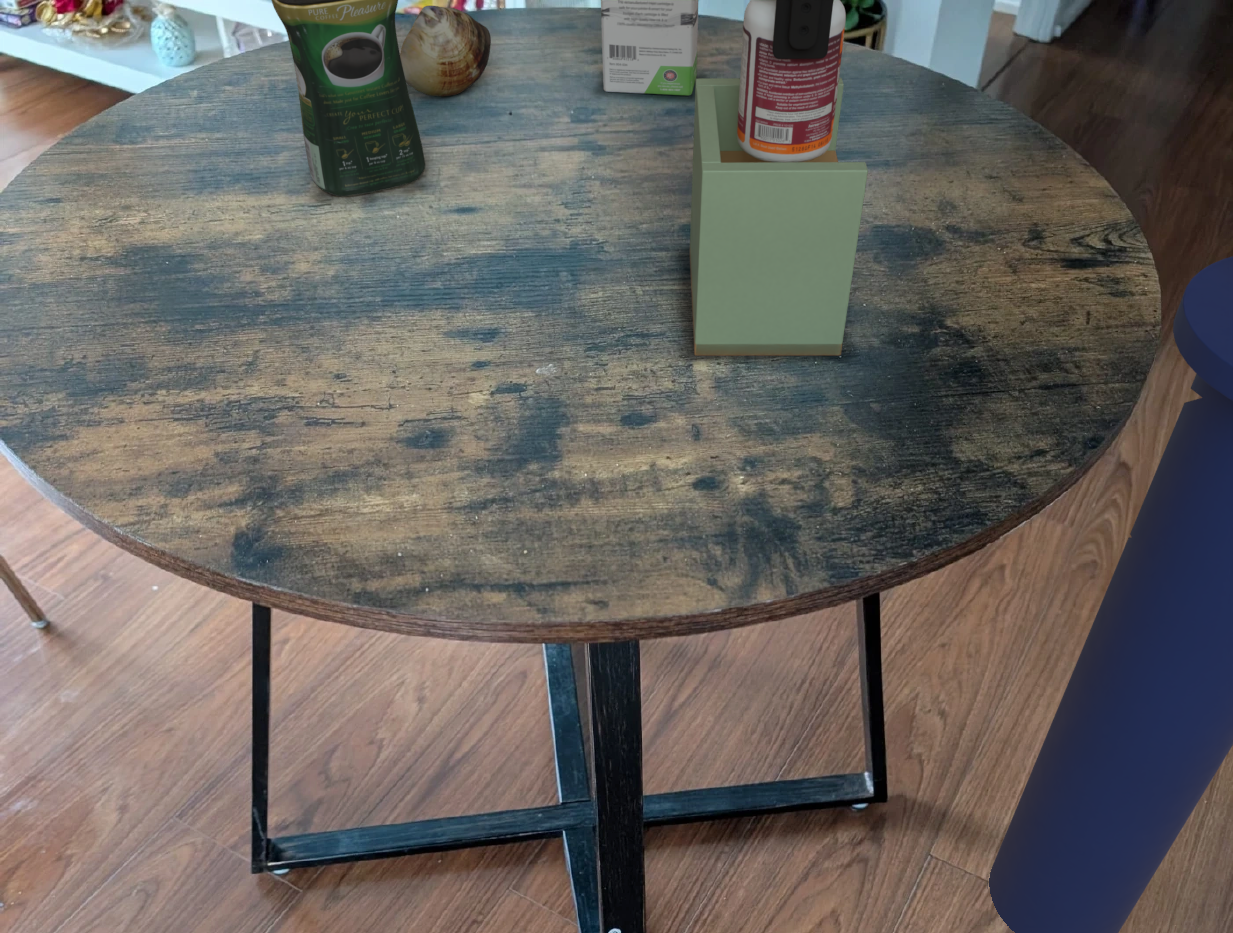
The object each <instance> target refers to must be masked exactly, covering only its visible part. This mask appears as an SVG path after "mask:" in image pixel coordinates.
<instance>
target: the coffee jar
mask: <svg viewBox="0 0 1233 933" xmlns="http://www.w3.org/2000/svg"><path fill="white" fill-rule="evenodd" d="M271 3H272V6H273V9H274V11H275V13H276V15H277V17H278V18H279V20H280V22H281V23H282V25H283V27H284V29H285V32H286V34H287V37H288V41H289V42H288V43H289V48H290V51H291V56H292V60H293V64H294V65H293V66H294V72H295V78H296V84H297V92H298V101H299V108H300V115H301V124H302V125H301V126H302V134H303V141H304V142H303V143H304V150H305V155H306V159H307V160H306V161H307V165H308V169H309V175H310V176H311V179H312V181H313V182H314V184H315V186H316V187H317V188H318V189H320V190H321V191H323V192H325V193H327V194H330V195H332V196H336V197H350V196H357V195H364V194H371V193H374V192H375V193H376V192H379V191H384V190H389V189H393V188H398V187H403V186H406V185H408V184H412V183H414V182H415V181H417V180H418V179H419V178H420V177H421V176H422V174H424V171H425V168H426V160H425V154H424V149H423V143H422V139H421V135H420V131H419V127H418V122H417V118H416V115H415V112H414V108H413V104H412V100H411V95H410V92H409V88H408V84H407V83H406V80H405V75H404V71H403V67H402V62H401V57H400V53H401V51H400V47H399V44H398V42H399V41H398V35H397V34H398V33H397V26H396V13H397V8H398V4H399V0H271Z"/></svg>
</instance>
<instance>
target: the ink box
mask: <svg viewBox="0 0 1233 933" xmlns="http://www.w3.org/2000/svg"><path fill="white" fill-rule="evenodd" d="M600 17H601V18H600V19H601V21H600V22H601V23H600V24H601V52H602V53H601V54H602V57H601V58H602V83H603V84H602V85H603V90H604V92H607V93H608V92H609V93H625V94H627V93H628V94H646V95H647V94H648V95H649V94H650V95H664V96H665V95H667V96H668V95H669V96H692V94H693V91H694V88H695V85H696V79H697V75H698V39H699V38H698V36H699V35H698V34H699V32H698V30H699V0H600Z"/></svg>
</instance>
